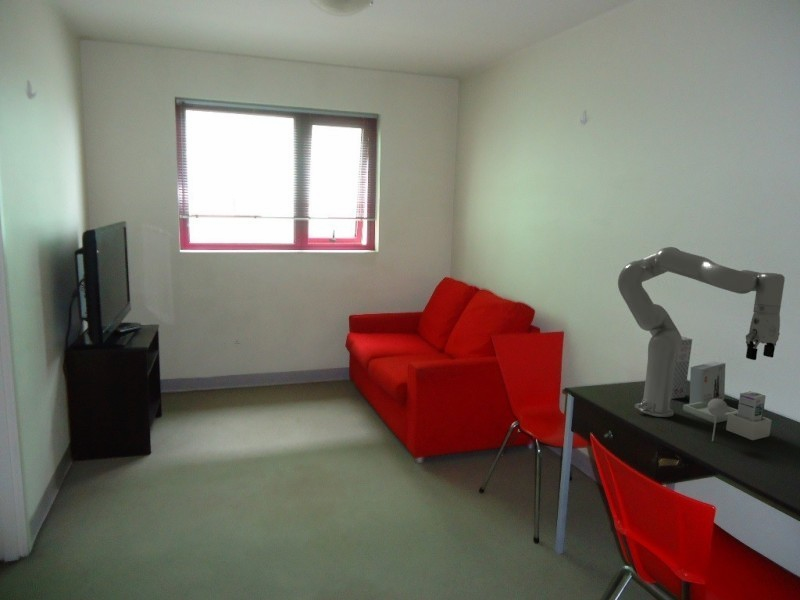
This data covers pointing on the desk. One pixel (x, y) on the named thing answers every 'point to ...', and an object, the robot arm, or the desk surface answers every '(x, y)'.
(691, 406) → the tray
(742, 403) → the syrup box
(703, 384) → the skincare box
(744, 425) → the white open storage bin
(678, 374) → the box
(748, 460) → the desk surface
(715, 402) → the lollipop
